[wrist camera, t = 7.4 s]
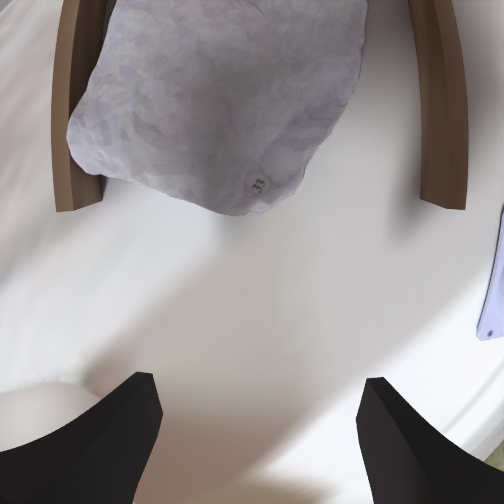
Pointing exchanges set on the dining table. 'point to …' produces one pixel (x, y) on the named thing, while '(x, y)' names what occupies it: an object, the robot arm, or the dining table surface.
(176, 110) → the stone block
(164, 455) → the dining table surface
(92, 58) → the walnut corral
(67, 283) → the dining table surface
